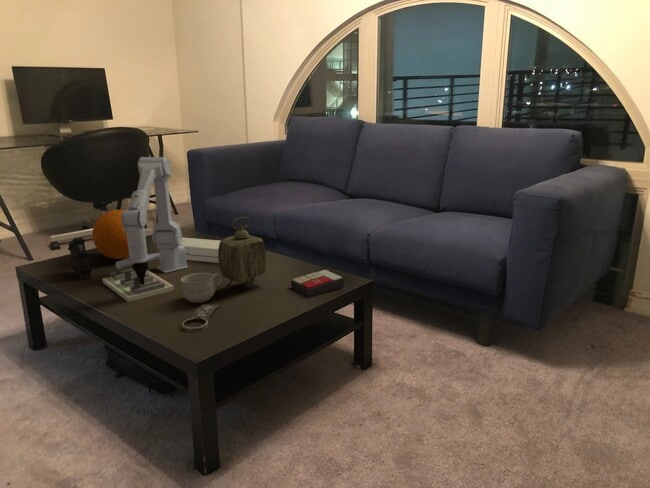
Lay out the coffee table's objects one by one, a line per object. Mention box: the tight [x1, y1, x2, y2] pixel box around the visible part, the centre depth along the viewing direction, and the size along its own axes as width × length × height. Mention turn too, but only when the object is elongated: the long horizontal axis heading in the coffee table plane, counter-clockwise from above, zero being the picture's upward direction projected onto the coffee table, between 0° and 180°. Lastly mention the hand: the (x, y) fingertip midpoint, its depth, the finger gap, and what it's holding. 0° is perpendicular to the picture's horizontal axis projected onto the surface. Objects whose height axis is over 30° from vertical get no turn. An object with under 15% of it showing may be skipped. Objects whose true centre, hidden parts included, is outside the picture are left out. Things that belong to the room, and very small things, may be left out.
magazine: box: [67, 236, 92, 281], centre depth 203 cm, size 4×13×15 cm, turn 40°
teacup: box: [180, 272, 223, 304], centre depth 180 cm, size 14×11×8 cm
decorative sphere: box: [91, 209, 129, 260], centre depth 221 cm, size 20×20×20 cm
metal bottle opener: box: [181, 304, 221, 333], centre depth 166 cm, size 8×19×2 cm, turn 172°
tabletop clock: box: [218, 216, 267, 290], centre depth 187 cm, size 14×9×25 cm, turn 135°
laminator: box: [181, 236, 221, 264], centre depth 224 cm, size 34×12×6 cm, turn 73°
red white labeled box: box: [290, 269, 345, 298], centre depth 189 cm, size 11×4×15 cm
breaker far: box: [114, 263, 123, 276], centre depth 196 cm, size 2×2×5 cm
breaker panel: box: [101, 267, 175, 303], centre depth 192 cm, size 16×24×3 cm, turn 40°
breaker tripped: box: [133, 277, 141, 289], centre depth 183 cm, size 2×2×5 cm
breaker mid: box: [124, 269, 132, 282], centre depth 190 cm, size 2×2×5 cm
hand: (141, 283), depth 184 cm, fingers closed
